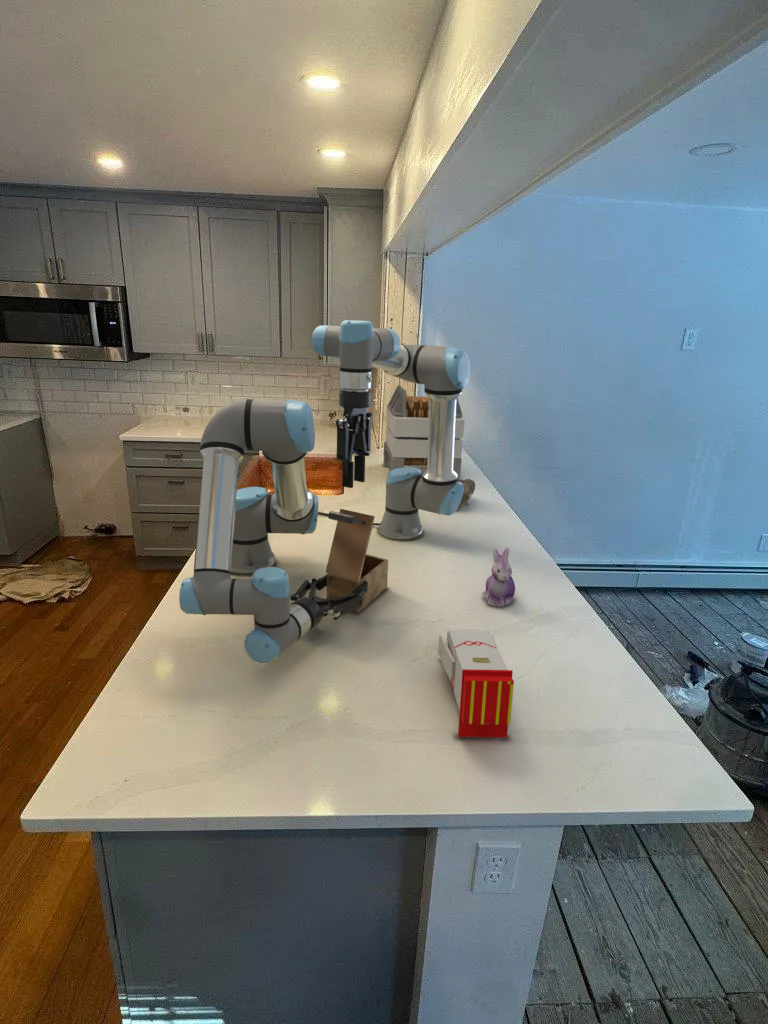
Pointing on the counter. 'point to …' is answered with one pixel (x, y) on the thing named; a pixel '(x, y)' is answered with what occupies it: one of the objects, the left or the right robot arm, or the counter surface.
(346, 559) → the lid
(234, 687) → the counter surface
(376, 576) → the chest
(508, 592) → the figurine
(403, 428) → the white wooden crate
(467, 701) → the toy
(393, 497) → the right robot arm
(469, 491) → the fossil
